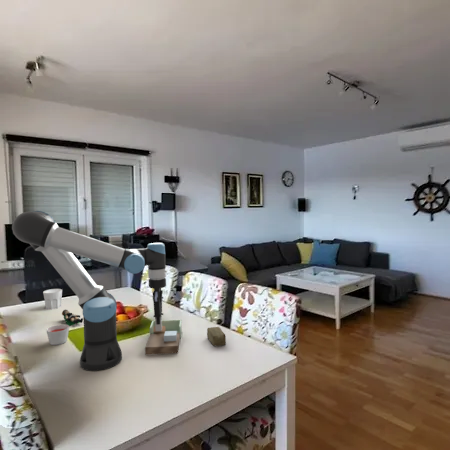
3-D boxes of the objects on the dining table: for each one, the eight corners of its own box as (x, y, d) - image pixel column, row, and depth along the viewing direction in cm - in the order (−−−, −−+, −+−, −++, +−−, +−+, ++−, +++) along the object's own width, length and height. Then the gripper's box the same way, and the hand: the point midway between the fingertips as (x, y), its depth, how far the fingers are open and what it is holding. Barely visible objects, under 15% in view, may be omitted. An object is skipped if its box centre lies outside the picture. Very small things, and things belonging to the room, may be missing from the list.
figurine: (72, 321, 162) (56, 310, 170) (71, 331, 163) (56, 320, 171) (86, 316, 168) (71, 306, 177) (85, 327, 169) (70, 316, 177)
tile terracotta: (153, 331, 146) (153, 326, 147) (154, 334, 150) (155, 329, 151) (164, 331, 146) (164, 325, 147) (165, 334, 150) (165, 329, 152)
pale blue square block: (164, 341, 136) (164, 335, 136) (165, 336, 141) (165, 331, 141) (176, 340, 137) (176, 335, 137) (177, 336, 142) (176, 330, 142)
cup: (51, 304, 202) (50, 288, 202) (66, 304, 201) (65, 289, 200) (40, 309, 192) (39, 292, 192) (55, 310, 191) (55, 293, 190)
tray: (150, 340, 145) (149, 327, 145) (152, 332, 154) (152, 320, 154) (180, 338, 147) (180, 326, 146) (181, 331, 156) (181, 319, 155)
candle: (43, 342, 145) (43, 328, 144) (64, 336, 151) (64, 323, 151) (51, 348, 138) (50, 333, 138) (73, 341, 145) (72, 327, 145)
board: (145, 354, 131) (145, 347, 131) (150, 340, 145) (150, 333, 145) (178, 353, 132) (177, 345, 132) (180, 339, 146) (179, 332, 146)
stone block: (213, 347, 137) (213, 336, 137) (206, 337, 148) (206, 327, 148) (226, 345, 139) (226, 334, 139) (218, 336, 150) (218, 325, 149)
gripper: (164, 281, 138) (165, 335, 139) (167, 274, 151) (168, 324, 152) (146, 281, 137) (147, 336, 139) (150, 275, 150) (152, 325, 152)
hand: (158, 330), depth 145 cm, fingers closed
